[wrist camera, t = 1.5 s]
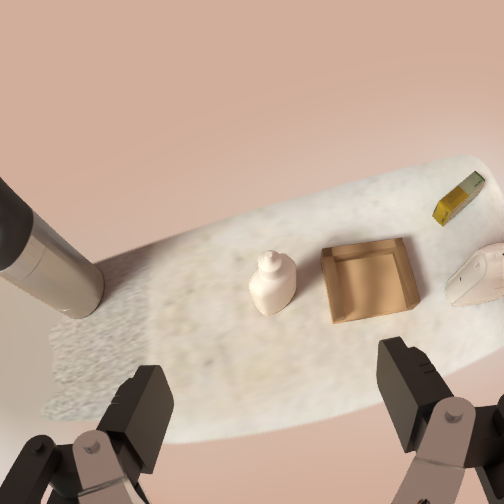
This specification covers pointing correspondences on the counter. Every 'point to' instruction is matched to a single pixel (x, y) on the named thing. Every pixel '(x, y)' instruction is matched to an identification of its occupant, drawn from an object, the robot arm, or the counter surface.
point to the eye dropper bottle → (273, 282)
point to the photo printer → (478, 278)
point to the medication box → (458, 198)
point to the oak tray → (368, 280)
